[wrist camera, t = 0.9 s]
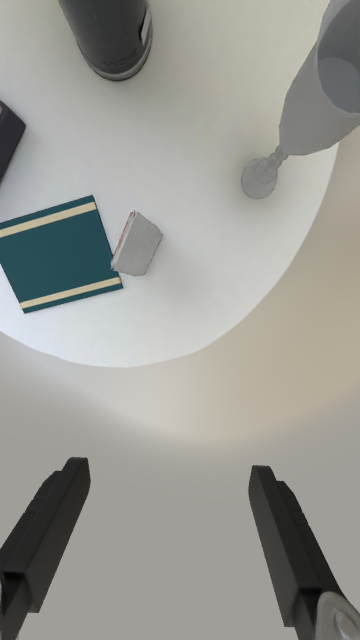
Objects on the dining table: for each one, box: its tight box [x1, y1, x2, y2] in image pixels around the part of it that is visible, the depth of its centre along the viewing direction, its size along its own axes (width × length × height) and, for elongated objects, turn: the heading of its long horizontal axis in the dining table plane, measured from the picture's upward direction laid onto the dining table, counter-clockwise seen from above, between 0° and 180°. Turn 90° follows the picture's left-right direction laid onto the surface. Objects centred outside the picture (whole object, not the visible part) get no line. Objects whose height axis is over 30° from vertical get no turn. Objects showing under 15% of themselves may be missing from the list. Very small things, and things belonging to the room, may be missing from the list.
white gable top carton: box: [111, 210, 163, 276], centre depth 26 cm, size 4×7×10 cm, turn 153°
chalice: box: [241, 0, 360, 199], centre depth 19 cm, size 7×7×18 cm
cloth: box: [0, 195, 123, 313], centre depth 31 cm, size 14×18×1 cm
